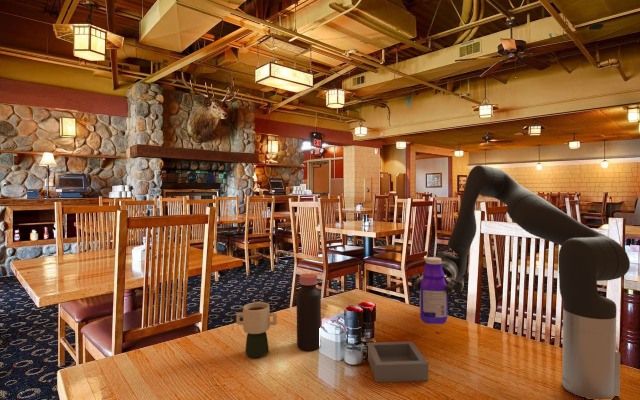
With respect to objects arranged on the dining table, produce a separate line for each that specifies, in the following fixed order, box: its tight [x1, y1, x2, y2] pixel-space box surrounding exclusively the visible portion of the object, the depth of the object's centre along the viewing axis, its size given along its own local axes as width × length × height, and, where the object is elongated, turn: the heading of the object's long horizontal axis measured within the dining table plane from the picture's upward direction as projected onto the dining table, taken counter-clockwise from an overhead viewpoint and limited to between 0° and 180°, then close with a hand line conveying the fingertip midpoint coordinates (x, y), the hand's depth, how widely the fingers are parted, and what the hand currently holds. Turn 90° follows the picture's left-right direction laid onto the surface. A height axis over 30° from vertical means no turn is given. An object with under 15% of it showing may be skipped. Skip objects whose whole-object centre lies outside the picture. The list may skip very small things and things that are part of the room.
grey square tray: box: [366, 340, 429, 383], centre depth 89 cm, size 12×12×4 cm
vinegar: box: [295, 273, 322, 352], centre depth 102 cm, size 7×7×20 cm
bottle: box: [419, 256, 449, 325], centre depth 99 cm, size 7×6×17 cm
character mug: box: [235, 301, 278, 358], centre depth 98 cm, size 11×7×13 cm, turn 86°
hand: (432, 288), depth 97 cm, fingers closed on bottle, 7 cm apart
